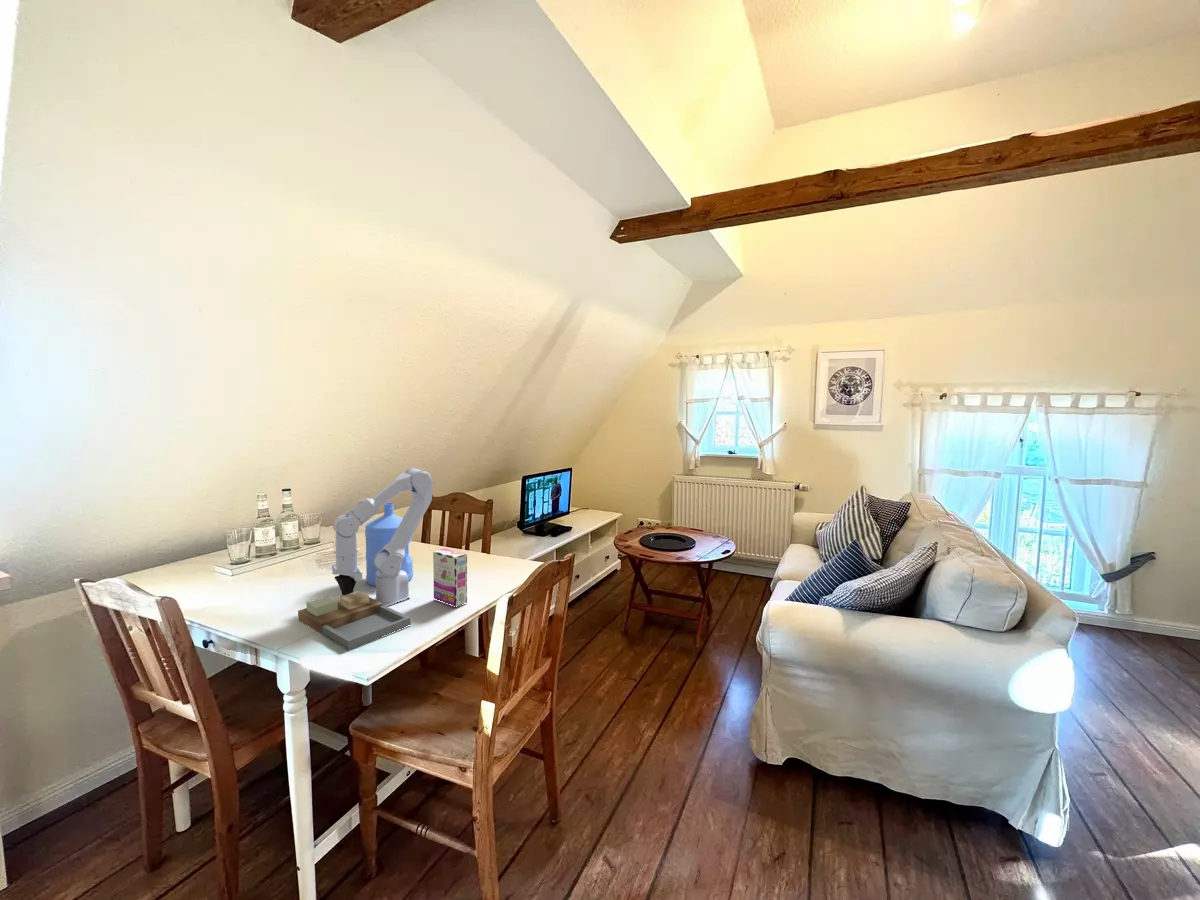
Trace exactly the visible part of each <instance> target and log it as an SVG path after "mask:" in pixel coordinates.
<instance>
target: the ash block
mask: <svg viewBox="0 0 1200 900" xmlns="http://www.w3.org/2000/svg"><path fill="white" fill-rule="evenodd" d="M338 597H339V604H340V605H341V606H343V607H345V608H347V609H349V610H350V609H353V608H357V607H360V606H363V605H366V604H369V597H370V595H369V594H367V593H365V592H362V591H360V590H357V591H353V593H350V594H346V595H343V596H342V595H340V596H338Z"/></svg>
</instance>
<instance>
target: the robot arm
mask: <svg viewBox="0 0 1200 900" xmlns="http://www.w3.org/2000/svg"><path fill="white" fill-rule="evenodd" d="M433 485H434V481H433V478H432V476H431V474H430V473H429V472H428V471H426V470H421V469H419V468H417V467H409V468H408V469H406V470H405V471H404V472H402V473H400V474H399V475H398V476H397V477H396V478H395V479H394V480H392V481H391V482H390V483H389V484H388V485H386V486H385V487H384V488H383V489H381V490H380V491H379V492H378V493H377V494H376V495H375V496H373V497H372V498H368V497H367V498H364V499H360V500H358V501H357V505H355V506H354V507H352V508H351V509H349V510H346V511H345V512H344V514H341V515H339V516H337V517H336V518H335V519H334V522H333V524H332V528H333V531H335V545H334V546H335V563H334V564H331V573H332V575H335V576H334V580H335V581H336V583H337V584H338V586H339V589H340V592H341V596H343V595H346V594H350V593H353V592H355V591H354V589H355V587H356V584H357V582H359V581H361V580H363V572H361V571H360V568H359V567H358V554H357V553H358V551H357V550H358V548H357V544H358V543H357V533H358V531H359V529H360V527H361V526H363V524H365V523H366V522H367V521H369V520H370V519H371V518H373V517H374V516H375V515H377V514H378V513H379V510H380V506H382V505H384V504H385V503H386V502H387V501H389V500H391V499H392V498H393V497H395V496H396V495H397V494H399V493H401V492H406V491H407V492H409V491H410V492H411V494H412V497H413V501H412V502H411V503H410V505H409V507H408V509H407V511H406V513H405V514H404V516H403V517H402V518H403V519H402V521H401V523H400V525H399V526H398V528H397V530H396V532H395V533H394V535H393V537H392V539H391V540H390V542H389V543H388V544H386V545H385V546H384V547H383V549H382V550H381V551H380V552H379V553H377V554H376V556H375V557H374V561H373V562H374V565H375V567H376V568H377V572H376V574H375V575H376V586H375V598H373V599H374V600H376V601H379V602H381V603H383V605H384V606H386V607H390V606H392V605H395V604H398V603H401V602H403V601H402V600H404V601H406V600H405V599H407V598H410V599H411V596H410V594H409V590H410V589H409V587H410V586H409V581H408V576H407V573H406V572H405V571H403V570H401V568H402V561H403V559H404V556H405V548H406V546H407V544H408V542H409V541H410V539H411V537H412V538H413V535H414V533H415V532H416V530H417V528H418V526H419V524H420V523H421V521H422V519H423V517H424V515H425V514H426V512H427V510H428V509H429V506H430V504H432V503H431V502H432V500H433ZM409 543H410V542H409ZM407 600H408V599H407ZM400 601H401V602H400ZM397 602H398V603H397ZM394 603H395V604H394Z"/></svg>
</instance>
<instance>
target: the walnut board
mask: <svg viewBox="0 0 1200 900" xmlns="http://www.w3.org/2000/svg"><path fill="white" fill-rule="evenodd" d="M334 600H336V601H338V610H334V611H331V612H328V613H325V614H322V615H319V616H315V615H313V614H312V613H310V612H308V611H307V607H305V608H302V609H299V610H297V615H298V616H297V617H298V618H297V619H298V620H299V622H300V623H302V624H303V623H304V624H303V625H305V626H307V627H308V626H309V629H312V630H314V631H315V632H317V633H319V634H320V635H322V626H324V625H328V626H330V627H332V628H334V629H335V628H338V627H340V626H343V625H346V624H349V623H352V622H355V621H358V620H360V619H363V618H366V617H369V616H372V615H375V614H378V613H380V606H383V603H381V602H379V601H376V600H374V598H372V597H370V596H369V604H366V605H363V606H360V607H357V608H353V609H350V610H349V609H347V608H345V607H343V606H341V605H340V604H339V598H334ZM298 620H297V621H298Z"/></svg>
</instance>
